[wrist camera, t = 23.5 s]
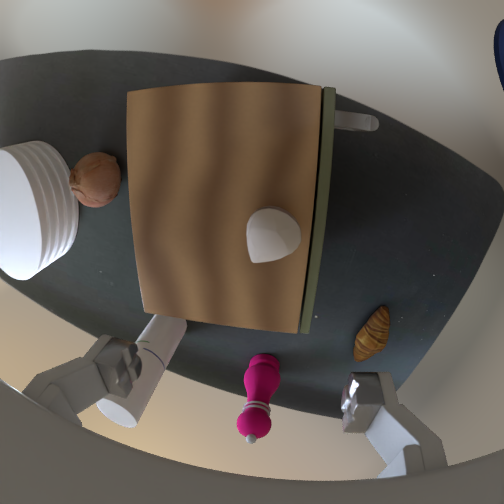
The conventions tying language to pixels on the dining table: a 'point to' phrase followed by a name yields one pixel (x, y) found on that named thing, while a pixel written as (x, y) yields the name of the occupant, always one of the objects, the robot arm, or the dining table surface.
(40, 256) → the plate stack
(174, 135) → the cupboard
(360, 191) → the dining table surface
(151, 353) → the cylindrical container
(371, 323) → the croissant
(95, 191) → the onion
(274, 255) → the clam shell
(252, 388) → the pepper mill
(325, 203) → the cupboard door
